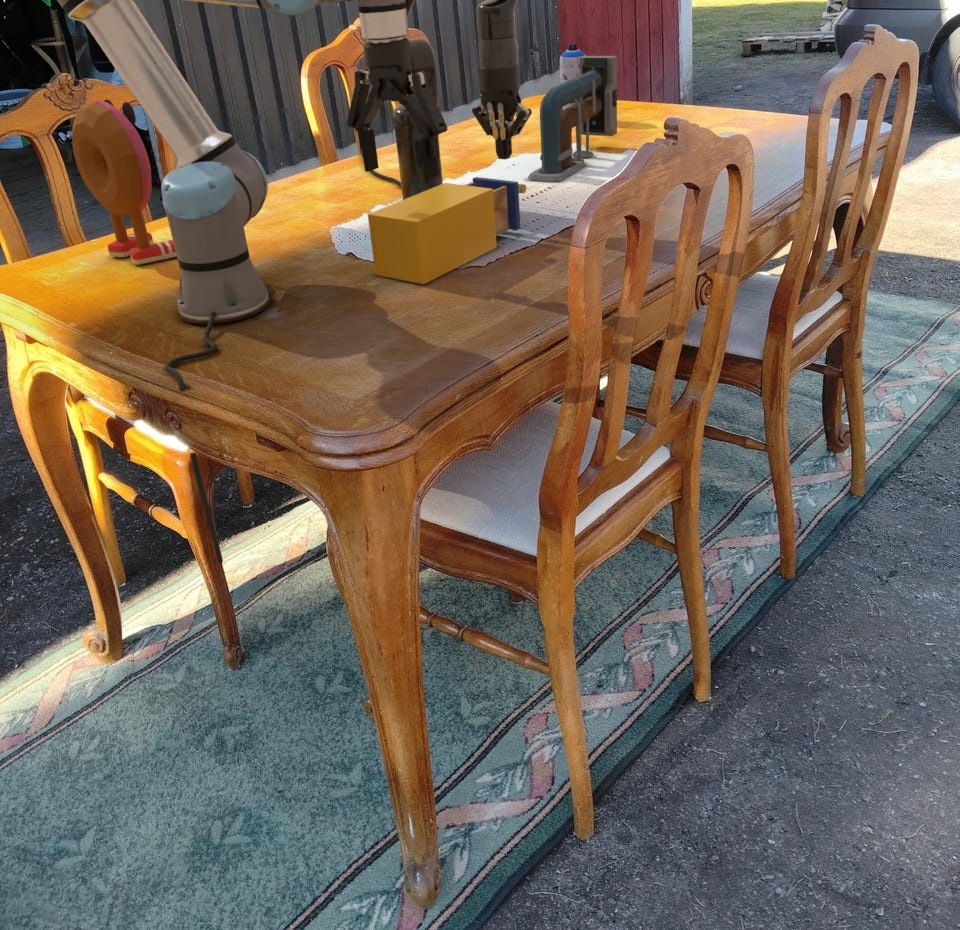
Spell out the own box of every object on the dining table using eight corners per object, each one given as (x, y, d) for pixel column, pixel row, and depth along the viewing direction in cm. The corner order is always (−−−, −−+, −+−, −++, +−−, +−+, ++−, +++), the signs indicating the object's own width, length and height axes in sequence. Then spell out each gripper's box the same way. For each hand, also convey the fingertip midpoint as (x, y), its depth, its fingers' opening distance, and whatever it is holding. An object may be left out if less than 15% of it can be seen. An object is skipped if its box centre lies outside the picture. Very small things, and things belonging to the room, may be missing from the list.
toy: (194, 256, 192) (157, 98, 177) (148, 271, 186) (106, 109, 171) (139, 239, 206) (100, 90, 190) (95, 253, 199) (51, 100, 184)
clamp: (559, 181, 220) (556, 82, 210) (525, 179, 224) (520, 82, 214) (617, 145, 246) (616, 55, 235) (585, 144, 250) (583, 55, 239)
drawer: (497, 214, 199) (494, 169, 195) (538, 219, 194) (536, 173, 189) (413, 253, 181) (408, 204, 177) (456, 260, 176) (451, 210, 171)
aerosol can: (559, 122, 275) (557, 47, 265) (562, 117, 282) (559, 42, 272) (587, 121, 274) (585, 45, 263) (589, 115, 280) (587, 41, 270)
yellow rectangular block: (450, 239, 190) (445, 182, 184) (496, 247, 184) (493, 188, 178) (375, 275, 175) (367, 214, 170) (423, 284, 169) (416, 221, 164)
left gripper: (461, 36, 151) (472, 174, 161) (345, 34, 164) (362, 161, 175) (431, 44, 146) (444, 185, 156) (314, 41, 159) (333, 171, 170)
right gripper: (539, 60, 178) (543, 156, 187) (482, 58, 185) (488, 151, 194) (516, 67, 173) (521, 166, 182) (458, 65, 180) (465, 160, 189)
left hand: (401, 173), depth 166 cm, fingers open, 13 cm apart
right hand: (504, 158), depth 188 cm, fingers closed
